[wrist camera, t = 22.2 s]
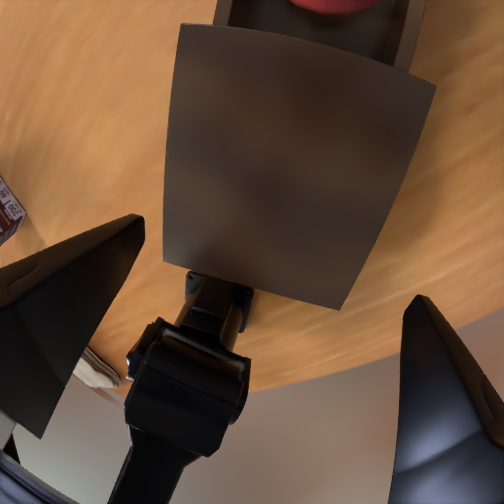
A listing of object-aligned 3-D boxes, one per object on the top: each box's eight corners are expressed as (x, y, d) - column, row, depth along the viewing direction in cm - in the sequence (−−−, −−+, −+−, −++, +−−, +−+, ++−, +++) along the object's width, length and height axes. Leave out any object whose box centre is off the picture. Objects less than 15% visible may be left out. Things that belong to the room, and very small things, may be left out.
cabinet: (221, 31, 16) (180, 23, 11) (402, 77, 15) (436, 86, 10) (195, 213, 25) (162, 261, 19) (338, 253, 24) (339, 311, 19)
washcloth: (97, 380, 54) (91, 392, 51) (35, 322, 46) (26, 333, 44) (127, 379, 48) (120, 393, 46) (54, 311, 41) (44, 324, 38)
